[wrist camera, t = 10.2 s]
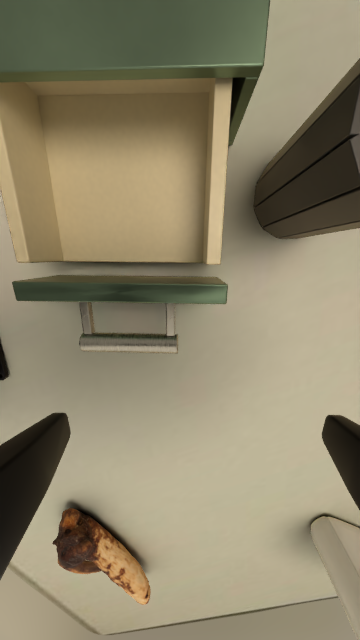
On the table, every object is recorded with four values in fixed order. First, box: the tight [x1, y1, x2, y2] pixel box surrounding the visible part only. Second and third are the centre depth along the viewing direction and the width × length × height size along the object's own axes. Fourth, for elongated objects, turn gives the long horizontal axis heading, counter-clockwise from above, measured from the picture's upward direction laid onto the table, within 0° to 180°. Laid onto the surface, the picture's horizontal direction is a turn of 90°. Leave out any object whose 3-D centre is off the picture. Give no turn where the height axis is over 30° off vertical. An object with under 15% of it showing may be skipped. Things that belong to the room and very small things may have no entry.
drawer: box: [0, 78, 233, 353], centre depth 13 cm, size 17×13×5 cm
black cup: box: [254, 59, 360, 239], centre depth 10 cm, size 6×6×10 cm
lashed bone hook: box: [53, 508, 150, 605], centre depth 26 cm, size 9×5×18 cm
